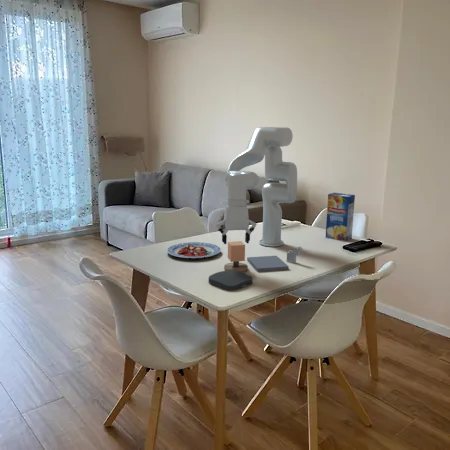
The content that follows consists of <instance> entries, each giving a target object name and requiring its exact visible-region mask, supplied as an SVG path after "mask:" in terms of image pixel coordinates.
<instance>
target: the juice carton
mask: <svg viewBox="0 0 450 450" xmlns="http://www.w3.org/2000/svg"><path fill="white" fill-rule="evenodd" d="M355 198H356V195H355V194H350V193H342V192H332V193H331V192H330V193H328V194H327V206H326V207H327V208H326V223H325V224H326V225H325V238H326V239H332V240H337V241H342V242H347V241H349V240H351V239H352V238H353V228H354V227H353V225H354V224H353V223H354V212H355V201H356V200H355Z"/></svg>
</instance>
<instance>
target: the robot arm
mask: <svg viewBox="0 0 450 450" xmlns="http://www.w3.org/2000/svg"><path fill="white" fill-rule="evenodd" d="M293 137H294V136H293V131H292V130H291V128H289V127H286V126H285V127H279V126H277V127H276V126H261V127H257V128H255V129H254V130H253V133H252V135H251V137H250V140H249V141H248V144H247V147H246V150H245V151H244V152H242V153H240V154H239V155H237V156H236V157H235V158H234V159H232V161H230V164H229V165H228V168H227V169H226V172H225V175H224V183H225V185H226V186H227V205H225V206H224V207H225V208H224V212H223V213H224V215H223V220H221V221H219V222H217V223H215V226H216V229H217V231H219V232H220V233H221V242H222V243H223V244H224V245H227V243H228V242H227V240H228V239H227V238H228V237H227V233H228V231H245V237H244V239H245V240H244V242H245V243H246V244H250V241H251V234H252V232H254V230H255V228H256V226H257V223H256V222H255V221H252V220H251V219H250V217H249V209H248V206H247V204H250V200H249V199H247V190H254V189H256V187H258V185H259V176H258V174H257V173H256V172H254V171H245V170H242V169H245V168H246V167H250V166H253V165H257V164H259V163H261V162H262V161H263V160H264V175H265V178H266V179H267V180H269V181H275V182H267V183H265V184H263V186H262V187H261V195H262V196H261V197H262V203H263V204H262V206H263V207H262V209H263V210H262V211H263V212H262V238H261V239H260V240H259V241H258V242H259V245H261V246H264V247H270V248H272V247H273V248H275V247H281V246H283V245H284V244H285V242H284V240H282V224H283V223H282V222H283V221H282V219H283V216H282V215H283V211H282V207H281V205H280V203H282V204H283V203H284V204H293V203H295V202H296V200H297V196H298V195H297V194H298V168H297V165H296V164H295V163H294V162H292V161H283V150H282V148H283V147H288V146H289V145H291V143H292V142H293ZM276 181H277V182H276ZM282 182H285V183H282ZM250 225H251V226H250ZM221 226H223V229H222V227H221ZM249 227H250V228H249Z"/></svg>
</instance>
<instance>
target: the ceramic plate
mask: <svg viewBox="0 0 450 450" xmlns="http://www.w3.org/2000/svg"><path fill="white" fill-rule="evenodd" d="M221 250H222V249H221V247H220V246H218V245H216V244H213V243H208V242H197V241H190V242H181V243H176V244H173V245H171V246H168V247H167V248H166V252H167V253H168V254H169V255H170V256H174V257H177V258H182V259H189V258H191V260H192V259H193V260H195V259H197V258H198V259H204V257H205V258H208V257H209V258H210V257H213V256H215V255H216V256H217V255H218V254H220V252H221Z"/></svg>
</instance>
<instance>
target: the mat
mask: <svg viewBox="0 0 450 450" xmlns="http://www.w3.org/2000/svg"><path fill="white" fill-rule="evenodd" d="M246 261H247V262H248V263H249V264H250V266H251V267H253V269H254V270H255V271H256V273H257V272H258V273H260V272H274V271H276V272H277V271H288V270H289V269H290V267H289V265H288V264H287V263H286V262H285V261H283V260H282V259H281V258H280V257H279V256H278V255H266V256H265V255H264V256H250V257H249V256H248V257H247V259H246Z"/></svg>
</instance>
